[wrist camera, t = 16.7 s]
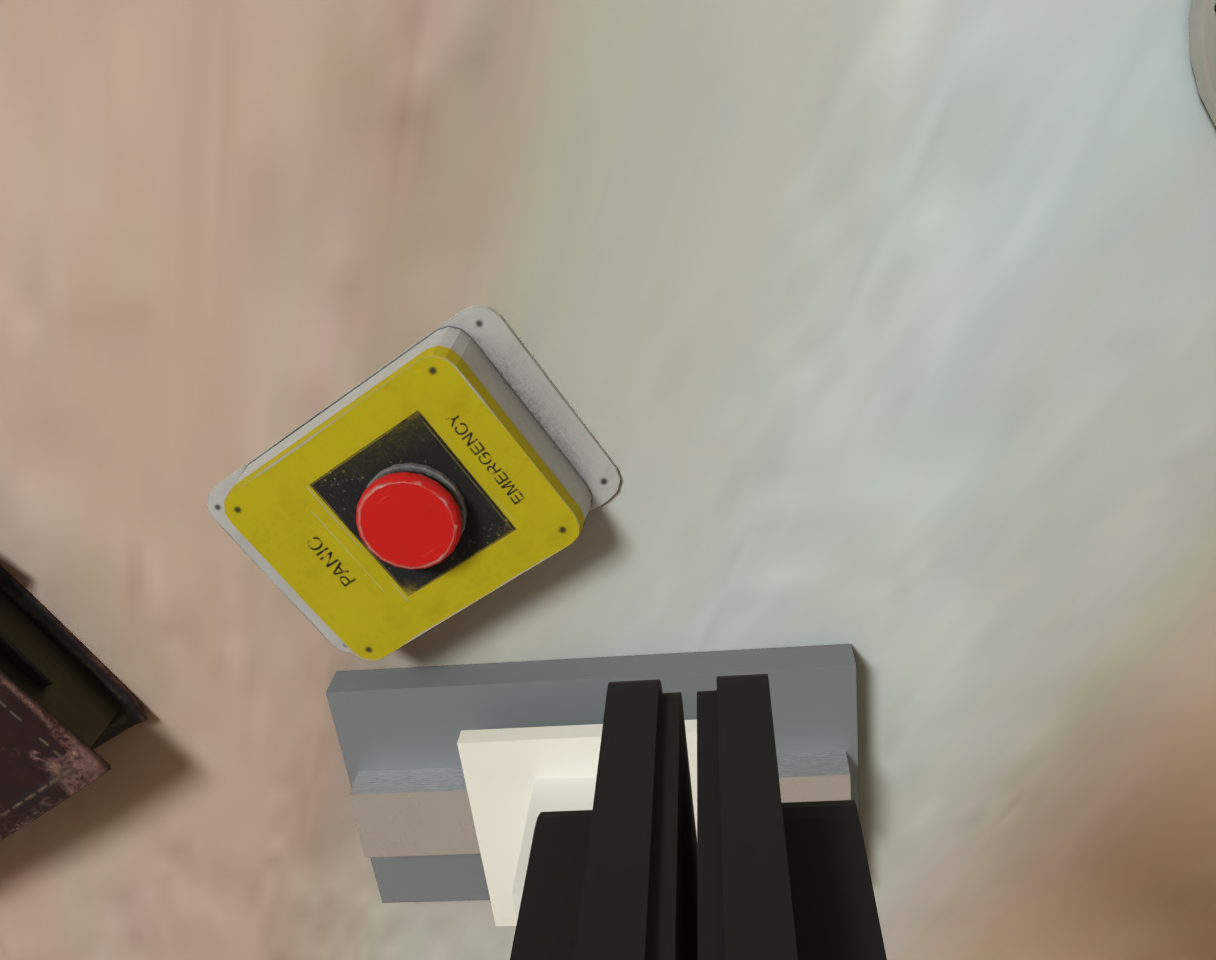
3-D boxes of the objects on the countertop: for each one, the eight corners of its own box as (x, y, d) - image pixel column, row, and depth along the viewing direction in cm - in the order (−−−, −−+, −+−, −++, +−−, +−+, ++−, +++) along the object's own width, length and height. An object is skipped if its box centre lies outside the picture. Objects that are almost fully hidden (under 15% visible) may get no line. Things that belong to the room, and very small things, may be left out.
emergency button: (625, 532, 39) (319, 715, 43) (631, 479, 43) (350, 652, 47) (464, 325, 36) (154, 544, 40) (486, 290, 40) (201, 493, 44)
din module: (645, 775, 43) (638, 891, 38) (656, 890, 46) (651, 1014, 40) (534, 778, 44) (511, 893, 38) (551, 891, 46) (532, 1014, 41)
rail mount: (851, 643, 45) (861, 687, 42) (856, 864, 50) (865, 915, 47) (336, 671, 47) (314, 714, 44) (390, 878, 52) (374, 928, 49)
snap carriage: (707, 695, 44) (708, 731, 42) (725, 896, 49) (727, 937, 47) (467, 707, 45) (457, 743, 43) (507, 902, 50) (499, 942, 48)
